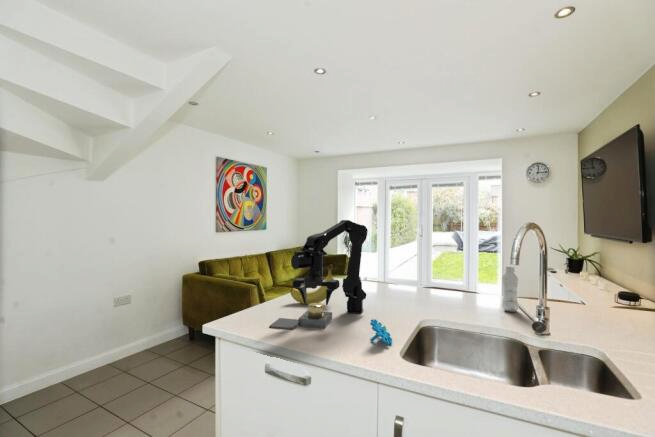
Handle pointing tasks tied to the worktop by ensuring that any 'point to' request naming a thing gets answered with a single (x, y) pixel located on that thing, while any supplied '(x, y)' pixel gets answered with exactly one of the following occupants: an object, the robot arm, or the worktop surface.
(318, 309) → the end cover
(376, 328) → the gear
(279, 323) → the mat
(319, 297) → the banana
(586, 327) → the worktop surface
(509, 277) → the plastic bottle
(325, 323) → the housing
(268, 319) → the worktop surface
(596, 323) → the worktop surface
